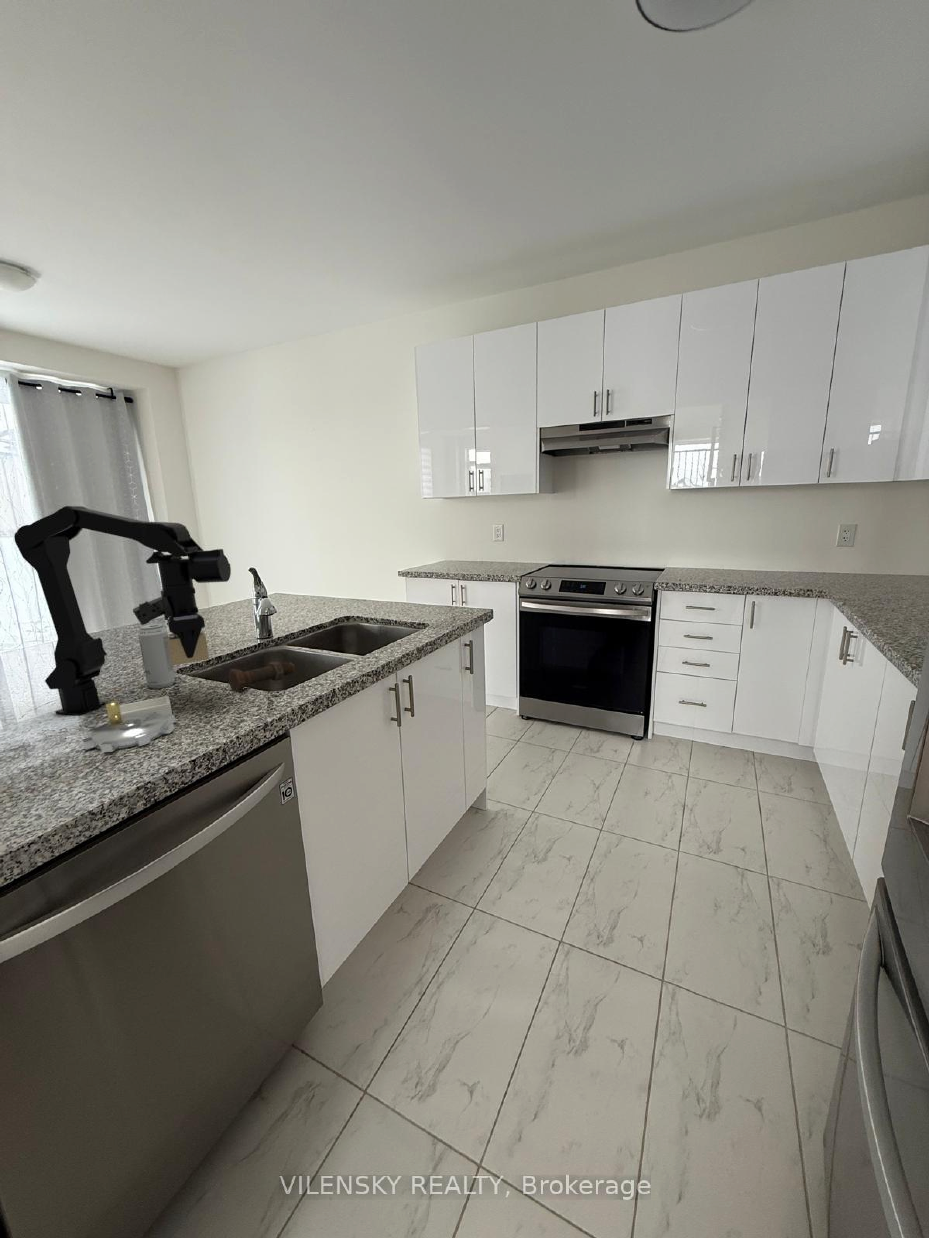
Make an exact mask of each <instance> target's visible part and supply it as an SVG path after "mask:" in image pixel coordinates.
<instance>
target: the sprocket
mask: <svg viewBox="0 0 929 1238" xmlns="http://www.w3.org/2000/svg"><path fill="white" fill-rule="evenodd" d="M119 705H120V702H119V700H113V701H111V700H110V701H108V702H106V704H105V706H106V707H105V708H106V713H107V716H108V717H107V718H108V722H106V723H104V724H102V725H100V726H97V727H96V726H95V727H91V728H90V729H89V730H87V731H86V734H87V737H86V738H82V739H81V742H82V746H83V748H84V749H85V750H90V749H93V748H95V749H98V750H101V753H111V752H114V751H115V750H119V749H120V750H121V749H127V748H131V747H136V746H138V747H141V746H144V745H148V744H150V743H151V741H153V740H155V739H157V738H159V737H161V736H162V735H165V734H171V732H173V731H174V730H175V726H174V723H176V717H175V714H173V713H172V714H171V713H170V714H167V715H163V714H158V713H156V712H146V713H145V714H138V715H132V716H128V717H124V716H123V717H121V712H120V707H119Z"/></svg>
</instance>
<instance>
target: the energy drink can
mask: <svg viewBox="0 0 929 1238" xmlns="http://www.w3.org/2000/svg"><path fill="white" fill-rule="evenodd" d="M137 637H138V641H139V646H140V652H141V656H142V663H143V668H144V670H143V671H144V674H145V681H146V684H147V686H149V688H150V689H153V690H154V689H163V688H168V687H171V686H173V684H174V682H175V680H176V676H175V675H176V674H175V668H174V665H173V666H172V664H171V659H170V653H169V647H168V642H167V637H169V636H168V630H167V629H166V627H164V624H163V623H153V624H144V625H141V626H140V627H139V632H138V636H137Z"/></svg>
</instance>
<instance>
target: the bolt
mask: <svg viewBox="0 0 929 1238" xmlns="http://www.w3.org/2000/svg"><path fill="white" fill-rule="evenodd" d="M295 671H296V670H295V665H294V664H293V663H292V662H291V661H286V662H282V663H280V662H279V661H271V662H269V664H268V666H264V667H260V668H256V669H252V670H247V671H245V670H244V671H242V670H240V669H238V668H233V669H230V670H229V672H228V683H229V685H230V688H231V689H232V691H233V692H236V693H240V692H244V691H245V687H246V686H249V685H253V684H256V683H259V682H264V681H268V680H272V681H277V682H278V681H281V680H282V679H283V677H284V676H287V675H292V674H293V673H294V672H295ZM243 688H244V689H243ZM243 690H244V691H243Z"/></svg>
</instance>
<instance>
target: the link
mask: <svg viewBox="0 0 929 1238" xmlns="http://www.w3.org/2000/svg"><path fill="white" fill-rule="evenodd" d="M167 642H168V647H169V653H170V659H171V664H172V666H173V667H174V666H178V665H183V664H190V663H196V662H200V661H207V660H210V657H209V656H210V655H209V650H208V642H207V636H206V633H205V632H204V631H203V629H201V632H200V636H199V639H198V642H197V645H196V649H195V652H194V655H193V657H192V658H187V656H186V654H185V651H184V649H183V646H182V644H181V641H180V639H179V637H178V636H177V635H175V634H174V633H171V632H170V633H169V634H168V637H167Z"/></svg>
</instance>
